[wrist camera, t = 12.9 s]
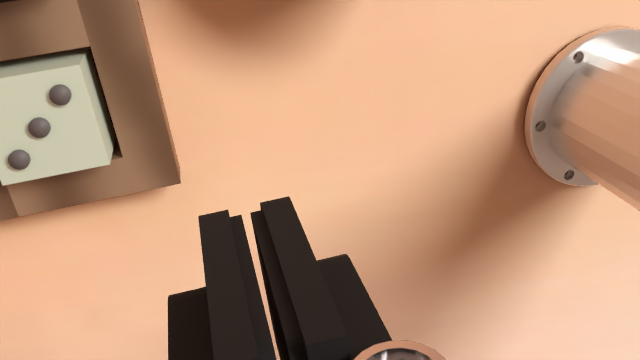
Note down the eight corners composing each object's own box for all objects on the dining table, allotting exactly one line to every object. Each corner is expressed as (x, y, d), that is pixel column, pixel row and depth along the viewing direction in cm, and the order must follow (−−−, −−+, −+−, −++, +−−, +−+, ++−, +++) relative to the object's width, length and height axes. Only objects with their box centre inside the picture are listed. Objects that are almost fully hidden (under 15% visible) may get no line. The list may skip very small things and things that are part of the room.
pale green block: (88, 46, 36) (78, 65, 32) (115, 138, 39) (109, 166, 35) (-16, 64, 35) (-40, 86, 31) (19, 156, 38) (1, 187, 34)
